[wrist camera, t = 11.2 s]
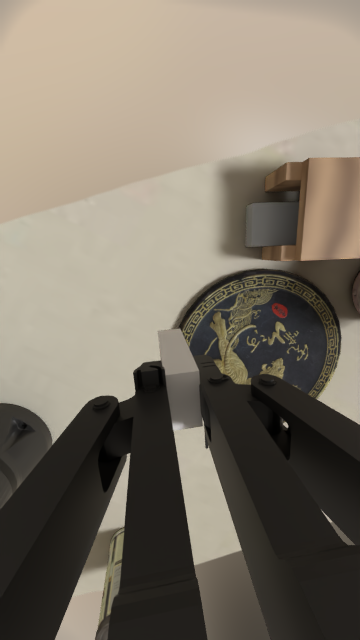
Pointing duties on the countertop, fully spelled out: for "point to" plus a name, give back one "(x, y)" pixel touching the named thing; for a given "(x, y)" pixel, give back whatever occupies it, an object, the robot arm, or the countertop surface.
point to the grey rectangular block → (271, 224)
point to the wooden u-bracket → (320, 208)
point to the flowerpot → (356, 292)
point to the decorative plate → (266, 329)
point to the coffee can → (110, 583)
